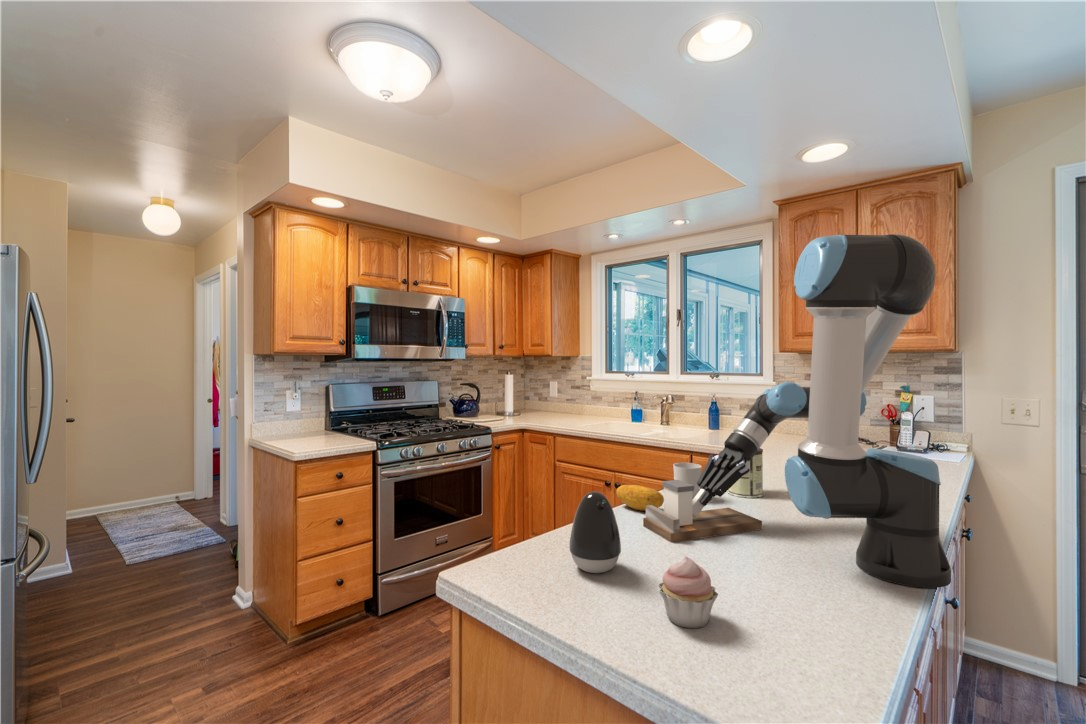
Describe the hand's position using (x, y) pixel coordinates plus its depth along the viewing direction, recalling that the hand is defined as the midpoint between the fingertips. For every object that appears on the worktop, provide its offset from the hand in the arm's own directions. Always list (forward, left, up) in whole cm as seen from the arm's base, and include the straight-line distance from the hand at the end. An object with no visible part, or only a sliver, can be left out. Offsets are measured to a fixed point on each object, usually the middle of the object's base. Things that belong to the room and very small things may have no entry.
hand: (690, 513), depth 124 cm
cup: (+28, -2, -4) cm, 28 cm away
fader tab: (-2, +3, -2) cm, 4 cm away
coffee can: (+37, -20, -4) cm, 42 cm away
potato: (+15, +12, -4) cm, 19 cm away
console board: (+2, -3, -4) cm, 5 cm away
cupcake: (-44, +5, -4) cm, 45 cm away
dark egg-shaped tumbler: (-27, +21, -4) cm, 35 cm away
